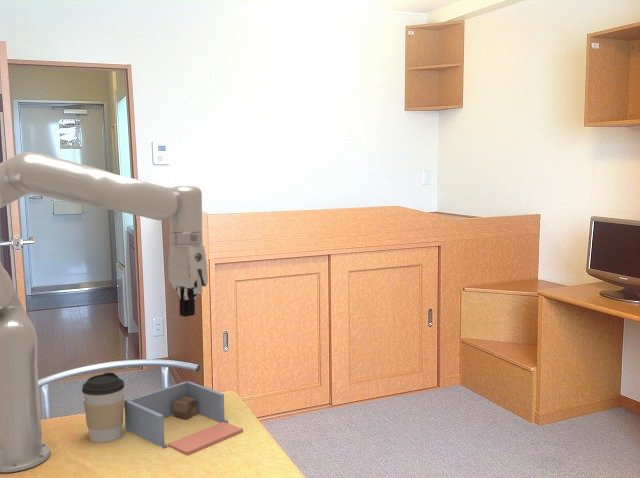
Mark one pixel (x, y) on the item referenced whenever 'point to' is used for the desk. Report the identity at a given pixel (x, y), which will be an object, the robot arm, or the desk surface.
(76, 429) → the desk surface
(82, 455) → the desk surface
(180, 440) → the tailgate
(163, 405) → the tray
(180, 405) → the cargo block
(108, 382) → the coffee cup
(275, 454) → the desk surface
